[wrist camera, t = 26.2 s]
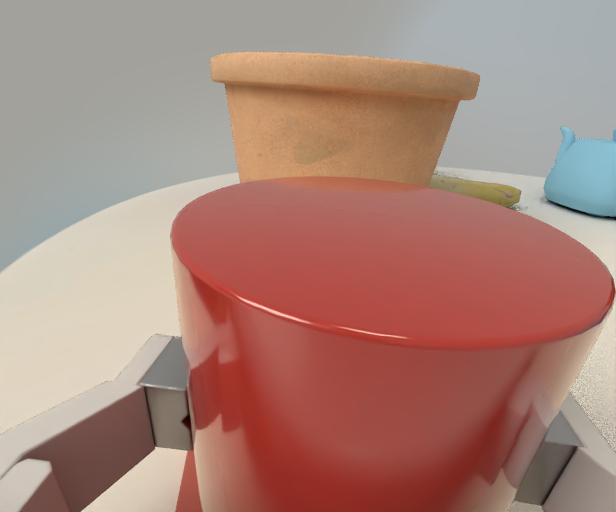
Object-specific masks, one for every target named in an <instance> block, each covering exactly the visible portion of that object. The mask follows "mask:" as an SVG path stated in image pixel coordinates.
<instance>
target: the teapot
mask: <svg viewBox="0 0 616 512" xmlns="http://www.w3.org/2000/svg"><path fill="white" fill-rule="evenodd" d="M560 129H561V131H562V133H563V141H562V145H561V148H560V150H559V152H558V155H557V158H556V160H555V165H554V166H553V168H552V170H551V171H550V173H549V175H548V177H547V179H546V181H545V184H544V190H545V194H546V197H547V199H549V200H551V201H553V202H556V203H558V204H561V205H564V206H567V207H570V208H573V209H576V210H580V211H583V212H587V213H588V214H590V215H594V216H599V217H605V216H614V217H616V129H615V130H614V132H613V140H602V139H578V140H576V141H575V134H574V132H573V131H572V130H570V129H568V128H565V127H560Z"/></svg>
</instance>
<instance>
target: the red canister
mask: <svg viewBox="0 0 616 512" xmlns="http://www.w3.org/2000/svg"><path fill="white" fill-rule="evenodd" d="M170 241H171V250H172V259H173V268H174V277H175V286H176V295H177V304H178V313H179V322H180V331H181V340H182V350H183V359H184V368H185V377H186V386H187V395H188V404H189V413H190V422H191V431H192V440H193V449H194V458H195V467H196V476H197V485H198V494H199V504H200V512H508V510H509V508H510V506H511V504H512V502H513V500H514V498H515V496H516V494H517V492H518V490H519V489H520V487H521V485H522V483H523V481H524V479H525V477H526V475H527V473H528V471H529V469H530V467H531V465H532V463H533V462H534V460H535V458H536V456H537V454H538V452H539V450H540V448H541V446H542V444H543V442H544V440H545V438H546V436H547V435H548V433H549V431H550V429H551V427H552V425H553V423H554V421H555V419H556V417H557V415H558V413H559V411H560V409H561V408H562V406H563V404H564V402H565V400H566V398H567V396H568V394H569V392H570V390H571V388H572V386H573V384H574V382H575V381H576V379H577V377H578V375H579V373H580V371H581V369H582V367H583V365H584V363H585V361H586V359H587V357H588V356H589V354H590V352H591V350H592V348H593V346H594V344H595V342H596V340H597V338H598V336H599V334H600V332H601V330H602V329H603V327H604V325H605V323H606V321H607V319H608V317H609V315H610V313H611V311H612V309H613V305H614V302H615V298H616V291H615V285H614V280H613V277H612V275H611V274H610V272H609V270H608V268H607V267H606V265H605V264H604V263H603V262H602V261H601V260H600V259H599V258H598V257H597V256H596V255H595V254H594V253H593V252H591V251H590V250H589V249H588V248H586V247H585V246H584V245H583V244H581V243H580V242H578V241H576V240H575V239H573V238H572V237H570V236H569V235H567V234H565V233H563V232H561V231H560V230H558V229H556V228H554V227H552V226H550V225H548V224H546V223H544V222H542V221H539V220H537V219H535V218H533V217H530V216H528V215H525V214H523V213H520V212H518V211H515V210H512V209H509V208H506V207H503V206H500V205H498V204H494V203H491V202H488V201H484V200H481V199H477V198H474V197H470V196H466V195H462V194H458V193H454V192H449V191H445V190H440V189H435V188H430V187H425V186H419V185H413V184H407V183H400V182H393V181H385V180H376V179H365V178H351V177H329V176H306V177H284V178H273V179H264V180H257V181H250V182H245V183H240V184H236V185H232V186H228V187H224V188H221V189H218V190H215V191H212V192H210V193H207V194H205V195H203V196H201V197H199V198H197V199H195V200H193V201H192V202H190V203H189V204H187V205H186V206H185V207H184V208H183V209H182V210H181V211H180V212H179V213H178V215H177V216H176V218H175V220H174V221H173V224H172V228H171V233H170Z"/></svg>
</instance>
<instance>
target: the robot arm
mask: <svg viewBox="0 0 616 512" xmlns="http://www.w3.org/2000/svg"><path fill="white" fill-rule="evenodd" d="M155 447H162V448H171V449H179V450H187V451H193V440H192V431H191V422H190V413H189V404H188V395H187V386H186V377H185V368H184V359H183V350H182V340H181V337H177V336H176V337H174V336H168V335H161V334H155V335H153V336H151V337H150V338H149V340H148V341H147V342H146V343H145V344H144V345H143V347H142V348H141V349H140V350H139V351H138V353H137V354H136V355H135V356H134V357H133V359H132V360H131V361H130V362H129V363H128V365H127V366H126V367H125V368H124V369H123V371H122V372H121V373H120V374H119V375H118V377H117V378H116V379H115V380H114V381H113V382H112V381H106V382H104V383H102V384H100V385H98V386H96V387H94V388H92V389H90V390H88V391H86V392H84V393H82V394H80V395H78V396H76V397H74V398H72V399H70V400H68V401H66V402H64V403H62V404H60V405H58V406H56V407H54V408H52V409H50V410H48V411H46V412H43V413H41V414H39V415H37V416H35V417H33V418H31V419H29V420H27V421H25V422H23V423H21V424H19V425H17V426H15V427H13V428H11V429H9V430H7V431H5V432H3V433H1V434H0V512H81V511H82V510H83V509H84V508H85V507H87V506H88V505H89V504H90V503H91V502H93V501H94V500H95V499H96V498H97V497H99V496H100V495H101V494H102V493H103V492H104V491H106V490H107V489H108V488H109V487H110V486H112V485H113V484H114V483H115V482H116V481H118V480H119V479H120V478H121V477H122V476H123V475H125V474H126V473H127V472H128V471H129V470H131V469H132V468H133V467H134V466H135V465H137V464H138V463H139V462H140V461H141V460H142V459H144V458H145V457H146V456H147V455H148V454H150V453H151V452H152V451H153V450H154V449H155ZM513 501H518V502H524V503H529V504H535V505H540V506H542V509H543V510H544V511H545V512H616V452H614V451H613V449H612V448H611V447H610V445H609V444H608V443H607V441H606V440H605V438H604V437H603V436H602V434H601V433H600V432H599V430H598V429H597V428H596V426H595V425H594V424H593V422H592V421H591V420H590V418H589V417H588V416H587V414H586V413H585V412H584V410H583V409H582V408H581V406H580V405H579V404H578V402H577V401H576V400H575V398H574V397H573V396H572V394H571V393H570V392H569V394H568V396H567V398H566V400H565V402H564V404H563V406H562V408H561V409H560V411H559V413H558V415H557V417H556V419H555V421H554V423H553V425H552V427H551V429H550V431H549V433H548V435H547V436H546V438H545V440H544V442H543V444H542V446H541V448H540V450H539V452H538V454H537V456H536V458H535V460H534V462H533V463H532V465H531V467H530V469H529V471H528V473H527V475H526V477H525V479H524V481H523V483H522V485H521V487H520V489H519V490H518V492H517V494H516V496H515V498H514V500H513Z"/></svg>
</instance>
